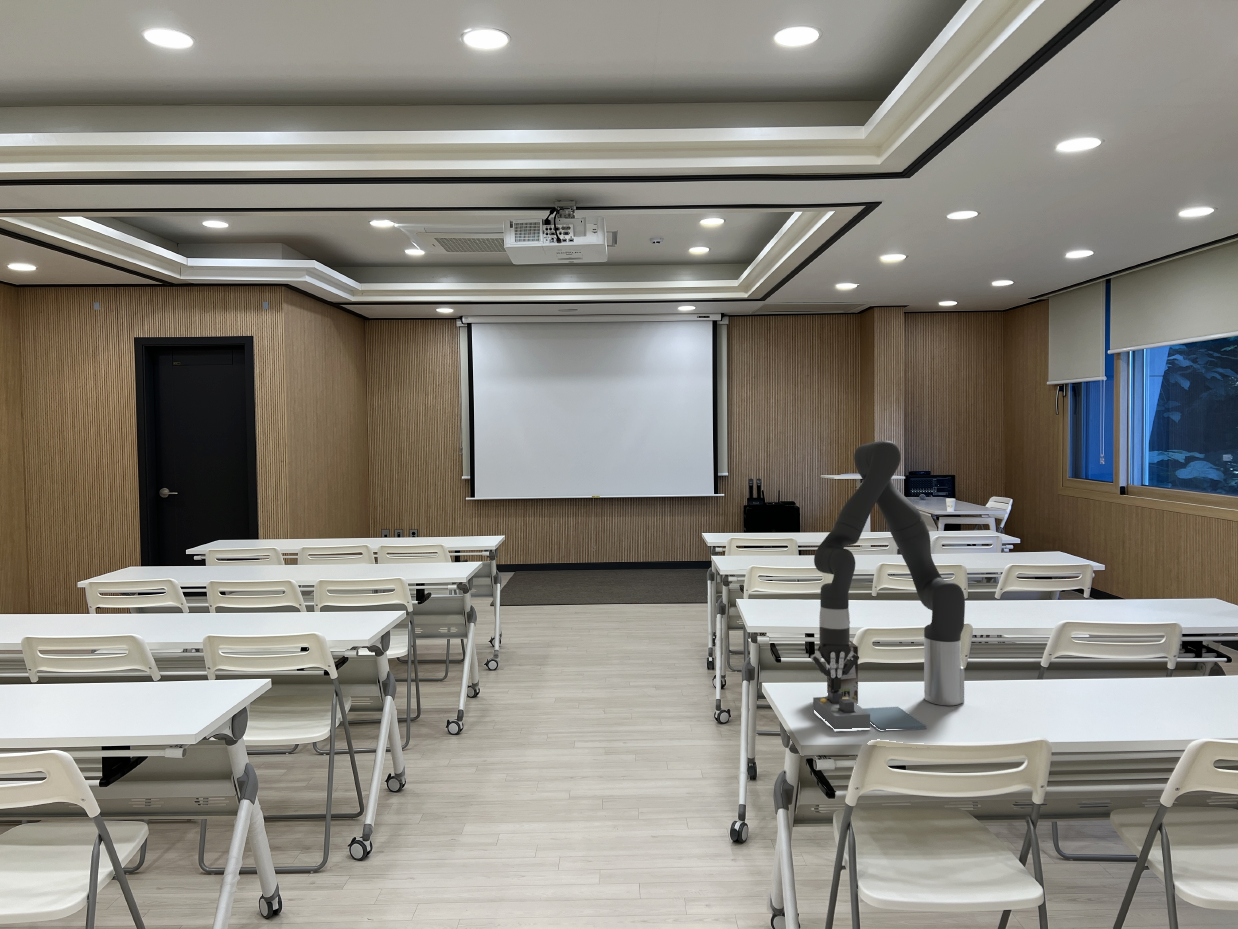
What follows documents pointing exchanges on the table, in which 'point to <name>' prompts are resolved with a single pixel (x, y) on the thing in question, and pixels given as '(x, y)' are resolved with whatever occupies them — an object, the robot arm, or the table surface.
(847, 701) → the block
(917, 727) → the mat
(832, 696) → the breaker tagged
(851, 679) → the coffee box
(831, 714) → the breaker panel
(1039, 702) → the table surface
